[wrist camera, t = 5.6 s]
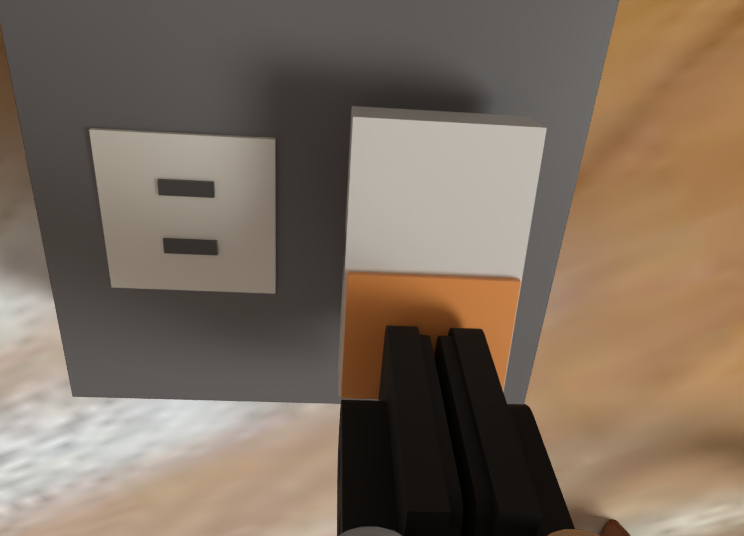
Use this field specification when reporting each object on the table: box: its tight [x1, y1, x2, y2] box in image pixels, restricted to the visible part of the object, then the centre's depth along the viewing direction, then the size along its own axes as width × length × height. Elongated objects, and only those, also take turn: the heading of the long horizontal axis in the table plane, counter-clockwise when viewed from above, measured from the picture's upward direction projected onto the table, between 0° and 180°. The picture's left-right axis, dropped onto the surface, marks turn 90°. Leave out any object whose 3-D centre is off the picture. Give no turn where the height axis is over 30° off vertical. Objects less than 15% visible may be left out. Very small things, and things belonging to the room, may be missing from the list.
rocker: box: [338, 106, 547, 399], centre depth 12 cm, size 5×3×1 cm, turn 176°
